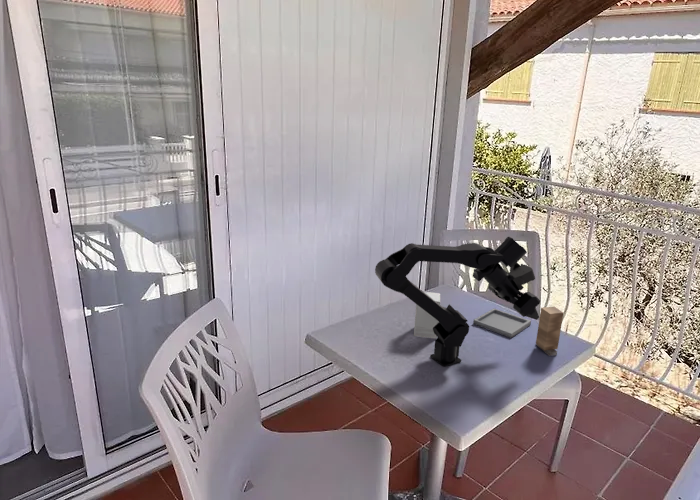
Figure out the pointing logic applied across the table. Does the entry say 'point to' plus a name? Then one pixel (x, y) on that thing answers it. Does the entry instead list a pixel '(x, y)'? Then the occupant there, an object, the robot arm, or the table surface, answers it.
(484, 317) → the box
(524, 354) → the table surface
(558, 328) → the tan slab
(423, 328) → the supplement box
